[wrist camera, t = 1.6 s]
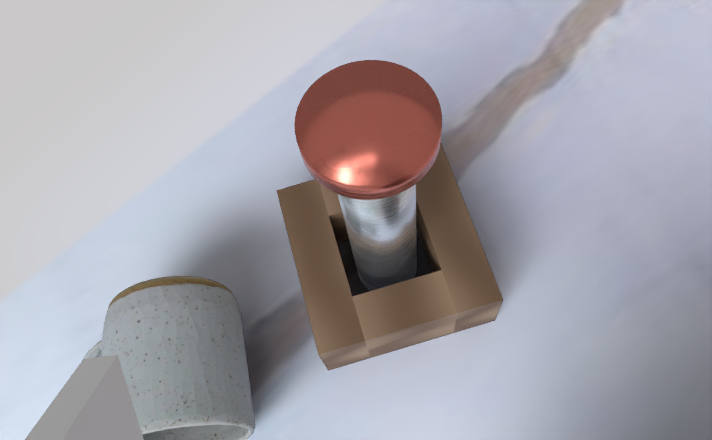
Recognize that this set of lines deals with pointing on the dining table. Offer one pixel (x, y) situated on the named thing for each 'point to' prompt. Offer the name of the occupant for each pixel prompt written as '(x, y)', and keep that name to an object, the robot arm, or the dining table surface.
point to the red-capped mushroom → (372, 158)
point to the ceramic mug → (181, 358)
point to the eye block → (398, 301)
